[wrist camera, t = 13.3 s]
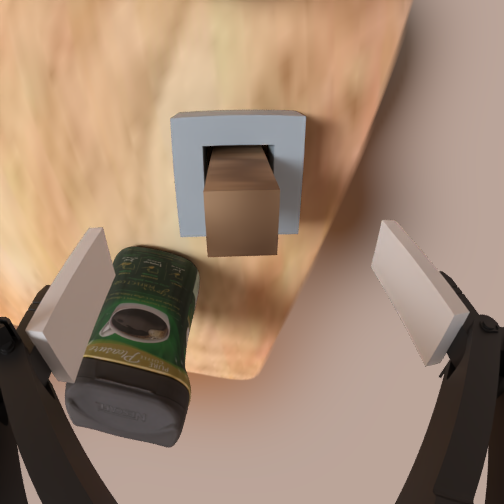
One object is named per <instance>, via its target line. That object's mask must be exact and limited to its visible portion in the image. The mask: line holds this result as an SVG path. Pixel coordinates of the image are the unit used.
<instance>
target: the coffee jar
mask: <svg viewBox="0 0 504 504" xmlns="http://www.w3.org/2000/svg"><path fill="white" fill-rule="evenodd" d="M113 268H114V271H115V278H114V280H113V282H112V285H111V287H110V289H109V292H108V294H107V296H106V299H105V301H104V303H103V306H102V308H101V311H100V313H99V316H98V318H97V321H96V323H95V326H94V329H93V331H92V334H91V337H90V339H89V342H88V345H87V347H86V350H85V353H84V356H83V359H82V362H81V365H80V367H79V370H78V373H77V376H76V380H75V383H69V382H67V383H66V390H65V405H66V409H67V412H68V414H69V416H70V419H71V420H72V422H73V424H74V425H76V426H80V427H85V428H90V429H94V430H98V431H101V432H105V433H108V434H112V435H116V436H120V437H124V438H128V439H134V440H138V441H144V442H149V443H153V444H157V445H160V446H164V447H172V446H173V445H174V444H175V443H176V442H177V440H178V439H179V437H180V435H181V432H182V429H183V425H184V422H185V417H186V414H187V410H188V406H189V403H190V399H191V387H190V382H189V378H188V375H187V372H186V369H185V356H186V348H187V341H188V336H189V332H190V327H191V323H192V319H193V315H194V311H195V307H196V302H197V297H198V291H199V281H200V277H199V272H198V270H197V268H196V267H195V265H194V264H193V263H192V262H190V261H189V260H187V259H185V258H183V257H180V256H178V255H175V254H171V253H168V252H165V251H160V250H156V249H151V248H145V247H136V246H134V247H128V248H125V249H123V250H121V251H120V252H119V253H118V254H117V256H116V258H115V260H114V262H113Z"/></svg>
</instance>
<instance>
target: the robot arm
mask: <svg viewBox="0 0 504 504" xmlns="http://www.w3.org/2000/svg"><path fill="white" fill-rule="evenodd" d="M371 268H372V270H373V271H374V273H375V275H376V276H377V278H378V280H379V282H380V283H381V285H382V287H383V288H384V290H385V292H386V294H387V295H388V297H389V299H390V301H391V302H392V304H393V306H394V308H395V310H396V311H397V313H398V315H399V317H400V319H401V320H402V322H403V324H404V326H405V328H406V330H407V332H408V333H409V336H410V337H411V339H412V341H413V343H414V345H415V347H416V349H417V351H418V353H419V355H420V357H421V359H422V361H423V363H424V365H425V367H426V366H430V365H434V364H438V363H440V362H441V361H442V359H443V358H444V356H445V354H446V353H447V354H448V356H449V358H450V360H449V362H448V363H447V365H446V366H445V368H444V369H443V371H442V372H441V374H440V375H439V377H440V378H441V377H442V375H443V374H444V378H443V381H442V385H441V389H440V392H439V395H438V398H437V402H436V405H435V408H434V411H433V414H432V417H431V420H430V423H429V426H428V429H427V432H426V434H425V437H424V440H423V442H422V445H421V448H420V450H419V453H418V455H417V458H416V460H415V463H414V465H413V467H412V469H411V471H410V474H409V476H408V478H407V480H406V483H405V485H404V487H403V489H402V491H401V493H400V495H399V497H398V499H397V501H396V503H395V504H474V503H473V500H474V496H475V493H476V489H477V486H478V483H479V480H480V476H481V472H482V469H483V465H484V461H485V457H486V453H487V449H488V475H487V488H486V499H485V504H504V327H499V325H498V323H497V322H496V321H495V320H494V319H493V318H491V317H489V316H487V315H479V314H478V313H477V312H476V310H475V309H474V307H473V306H472V305H471V303H470V302H469V301H468V299H467V298H466V297H465V295H464V294H462V291H461V290H460V289H459V288H457V285H456V284H455V282H454V281H453V280H452V278H450V277H449V276H448V275H446V274H445V273H444V272H442V271H440V272H439V271H438V270H437V268H436V267H435V266H434V265H433V263H432V262H431V261H430V260H429V259H428V257H427V256H426V255H425V254H424V253H423V251H422V250H421V249H420V248H419V247H418V245H417V244H416V243H415V242H414V241H413V240H412V238H411V237H410V236H409V235H408V234H407V233H406V232H405V230H404V229H403V228H402V227H401V226H400V225H399V224H398V223H397V221H395V220H382V222H381V227H380V231H379V236H378V241H377V245H376V249H375V252H374V256H373V260H372V264H371ZM114 278H115V271H114V268H113V264H112V260H111V257H110V253H109V249H108V245H107V241H106V237H105V233H104V229H103V227H98V228H89V229H88V230H87V232H86V233H85V234H84V236H83V237H82V239H81V240H80V242H79V243H78V244H77V246H76V247H75V249H74V250H73V252H72V253H71V255H70V256H69V258H68V259H67V261H66V262H65V264H64V265H63V267H62V268H61V270H60V271H59V273H58V275H57V276H56V278H55V279H54V281H53V283H52V284H51V285H46V286H45V287H44V288H43V289H42V290H40V291H39V292H38V293H37V295H36V297H35V298H34V300H33V303H31V305H30V307H29V308H28V311H27V312H26V314H25V315H24V317H23V319H22V321H21V322H20V324H19V326H18V328H17V330H16V329H15V328H14V326H13V324H12V323H11V321H10V319H9V318H7V317H0V504H28V502H27V498H26V493H25V489H24V484H23V479H22V474H21V468H20V462H19V455H18V448H19V451H20V453H21V456H22V459H23V461H24V464H25V466H26V469H27V471H28V473H29V476H30V478H31V481H32V482H33V485H34V487H35V489H36V491H37V494H38V496H39V498H40V500H41V502H42V504H118V503H117V502H116V500H115V499H114V497H113V496H112V495H111V493H110V492H109V490H108V489H107V487H106V486H105V484H104V483H103V481H102V480H101V478H100V476H99V475H98V473H97V472H96V470H95V468H94V467H93V465H92V463H91V462H90V460H89V458H88V457H87V455H86V453H85V451H84V450H83V448H82V446H81V444H80V442H79V440H78V438H77V437H76V435H75V433H74V431H73V429H72V427H71V425H70V423H69V421H68V419H67V417H66V415H65V413H64V410H63V408H62V406H61V404H60V402H59V399H58V397H57V395H56V393H55V390H54V388H53V385H52V384H51V382H50V381H49V376H50V374H51V372H52V373H53V375H54V376H55V377H56V379H57V380H58V381H62V382H69V383H75V380H76V376H77V373H78V370H79V367H80V365H81V362H82V359H83V356H84V353H85V350H86V347H87V345H88V342H89V339H90V337H91V334H92V331H93V329H94V326H95V323H96V321H97V318H98V316H99V313H100V311H101V308H102V306H103V303H104V301H105V299H106V296H107V294H108V292H109V289H110V287H111V285H112V282H113V280H114ZM17 445H18V448H17ZM488 447H489V448H488Z"/></svg>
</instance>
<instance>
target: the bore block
mask: <svg viewBox="0 0 504 504" xmlns="http://www.w3.org/2000/svg"><path fill="white" fill-rule="evenodd" d="M170 121H171V138H172V152H173V165H174V177H175V188H176V199H177V209H178V218H179V227H180V236H181V237H199V236H206V226H205V211H204V195H203V191H204V186H205V181H206V177H207V172H208V168H207V146H218V145H268V162H269V165H270V167H271V169H272V172H273V174H274V176H275V179H276V181H277V183H278V186H279V188H280V208H279V228H278V234H298V230H299V218H300V205H301V192H302V177H303V162H304V145H305V126H306V116H304V115H302V114H301V113H299V112H297V111H289V110H216V111H195V112H180V113H178V114H176V115H175V116H173V117H172V118H170Z"/></svg>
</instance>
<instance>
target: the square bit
mask: <svg viewBox="0 0 504 504" xmlns="http://www.w3.org/2000/svg"><path fill="white" fill-rule="evenodd" d="M203 195H204V211H205V226H206V239H207V252H208V257H227V256H260V255H277V247H278V228H279V208H280V188H279V186H278V183H277V181H276V179H275V176H274V174H273V172H272V169H271V167H270V165H269V162H268V160H267V158H266V156H265V153H264V151H263V149H262V147H261V145H218V146H213V150H212V155H211V159H210V163H209V168H208V172H207V177H206V181H205V186H204V191H203Z"/></svg>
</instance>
